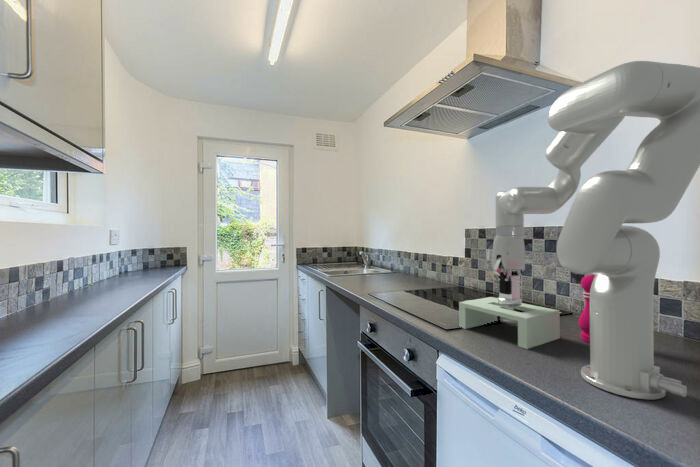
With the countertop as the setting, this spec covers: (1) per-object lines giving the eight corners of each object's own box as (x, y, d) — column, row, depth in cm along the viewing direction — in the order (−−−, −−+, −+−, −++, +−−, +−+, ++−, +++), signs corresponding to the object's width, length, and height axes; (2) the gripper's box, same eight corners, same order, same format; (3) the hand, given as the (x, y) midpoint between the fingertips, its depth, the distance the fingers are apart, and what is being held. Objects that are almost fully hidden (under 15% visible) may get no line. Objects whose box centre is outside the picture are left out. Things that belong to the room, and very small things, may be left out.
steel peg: (526, 322, 91) (526, 275, 91) (513, 325, 88) (513, 277, 88) (506, 317, 96) (506, 273, 96) (493, 320, 93) (493, 274, 93)
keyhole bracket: (559, 338, 87) (559, 310, 87) (526, 349, 79) (526, 318, 79) (491, 319, 106) (490, 296, 106) (459, 327, 99) (459, 302, 99)
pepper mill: (581, 343, 83) (580, 270, 83) (576, 335, 90) (575, 267, 90) (615, 347, 80) (614, 271, 80) (607, 339, 86) (607, 268, 86)
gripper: (514, 232, 99) (514, 288, 99) (480, 232, 91) (480, 293, 91) (538, 232, 93) (538, 292, 93) (503, 232, 84) (503, 298, 85)
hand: (509, 292), depth 92 cm, fingers closed on steel peg, 4 cm apart
